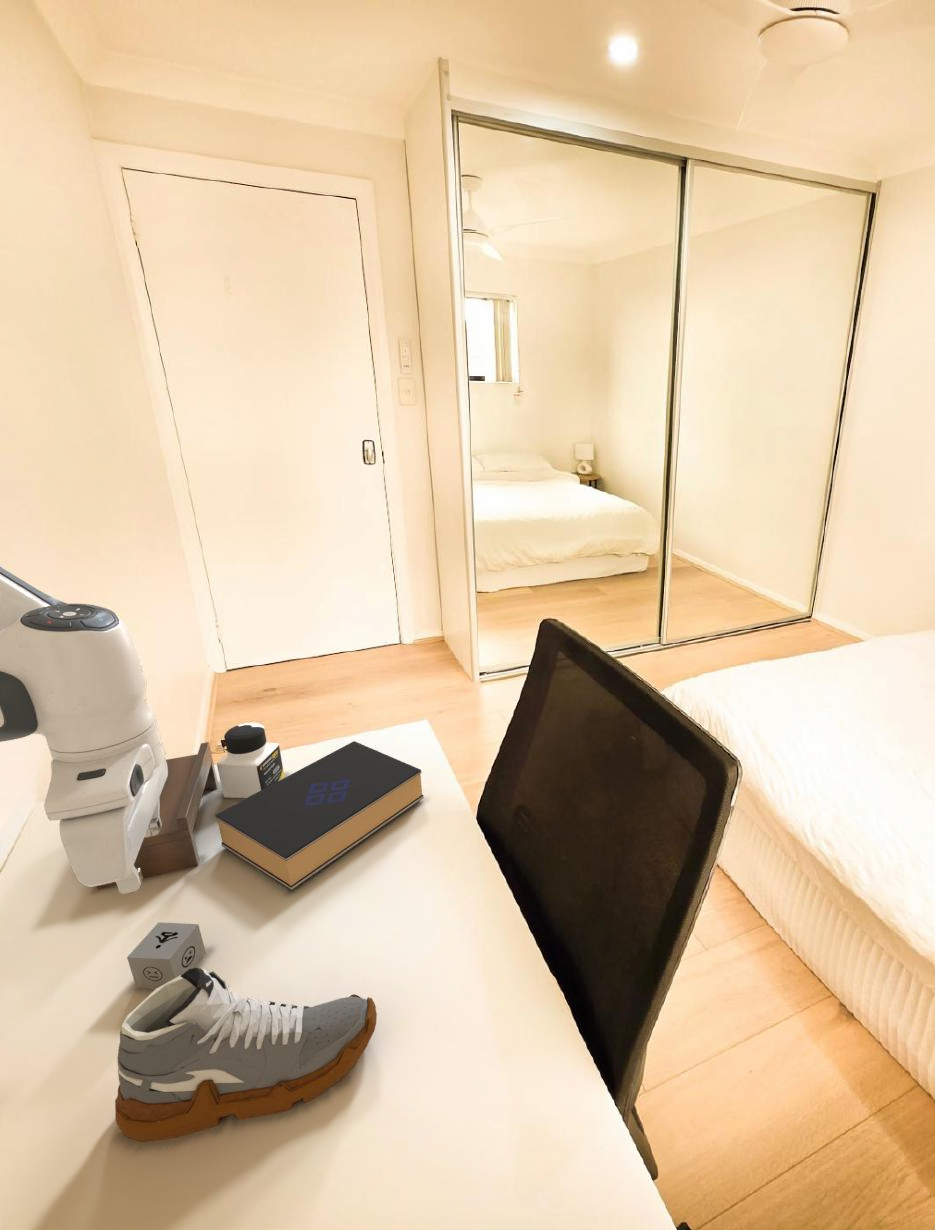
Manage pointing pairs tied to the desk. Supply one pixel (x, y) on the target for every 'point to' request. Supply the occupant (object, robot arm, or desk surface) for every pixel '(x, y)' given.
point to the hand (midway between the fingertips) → (142, 858)
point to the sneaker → (228, 1055)
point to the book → (319, 812)
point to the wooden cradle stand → (177, 816)
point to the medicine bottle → (249, 761)
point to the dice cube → (166, 954)
